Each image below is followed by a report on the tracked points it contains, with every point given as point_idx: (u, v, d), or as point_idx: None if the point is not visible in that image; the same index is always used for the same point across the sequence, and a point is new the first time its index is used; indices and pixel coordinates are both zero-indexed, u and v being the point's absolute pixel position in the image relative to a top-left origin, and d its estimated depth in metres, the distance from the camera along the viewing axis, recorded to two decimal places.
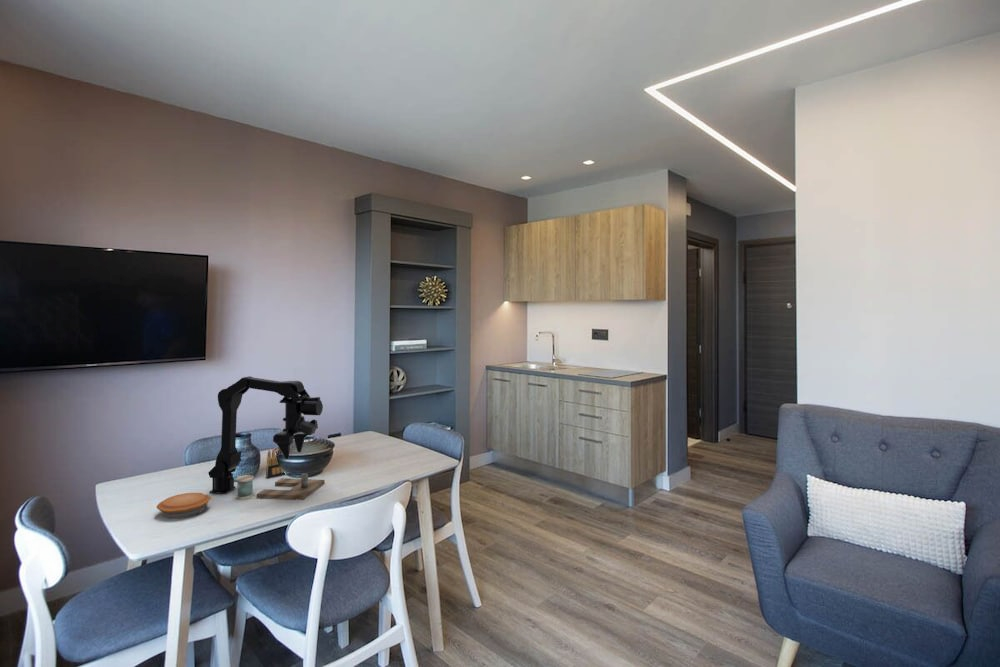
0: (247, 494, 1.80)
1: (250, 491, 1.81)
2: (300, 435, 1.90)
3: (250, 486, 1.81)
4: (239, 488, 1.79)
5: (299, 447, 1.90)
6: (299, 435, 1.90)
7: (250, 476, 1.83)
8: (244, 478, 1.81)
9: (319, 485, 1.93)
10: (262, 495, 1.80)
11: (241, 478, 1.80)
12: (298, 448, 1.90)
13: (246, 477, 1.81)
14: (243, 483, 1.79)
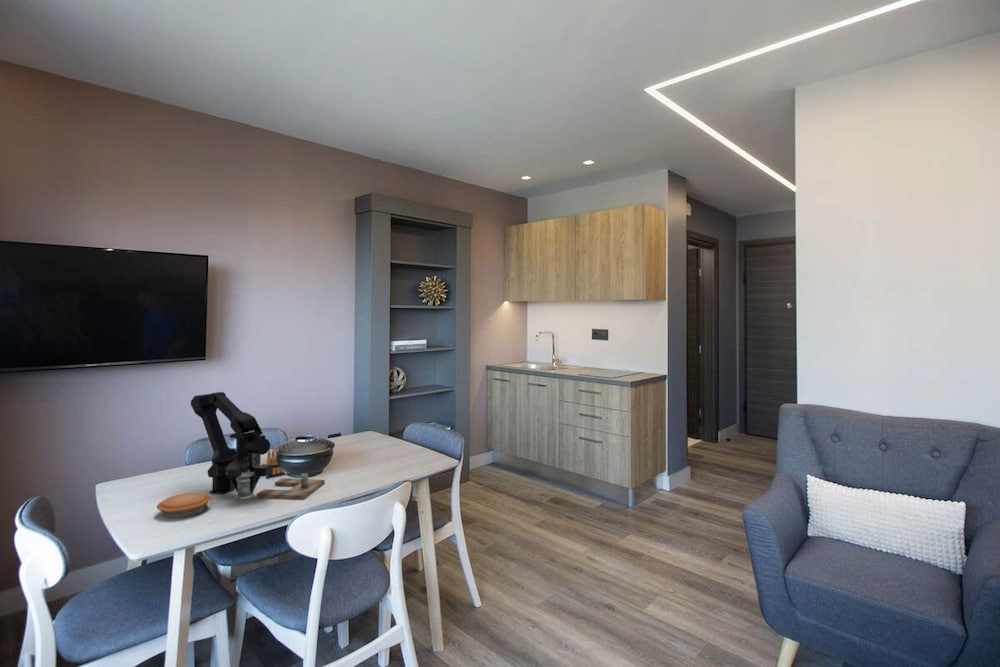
0: (247, 494, 1.80)
1: (250, 491, 1.81)
2: None
3: None
4: (239, 488, 1.79)
5: None
6: None
7: None
8: (244, 478, 1.80)
9: (319, 485, 1.93)
10: (262, 495, 1.80)
11: (241, 478, 1.80)
12: None
13: (246, 477, 1.81)
14: (243, 483, 1.79)
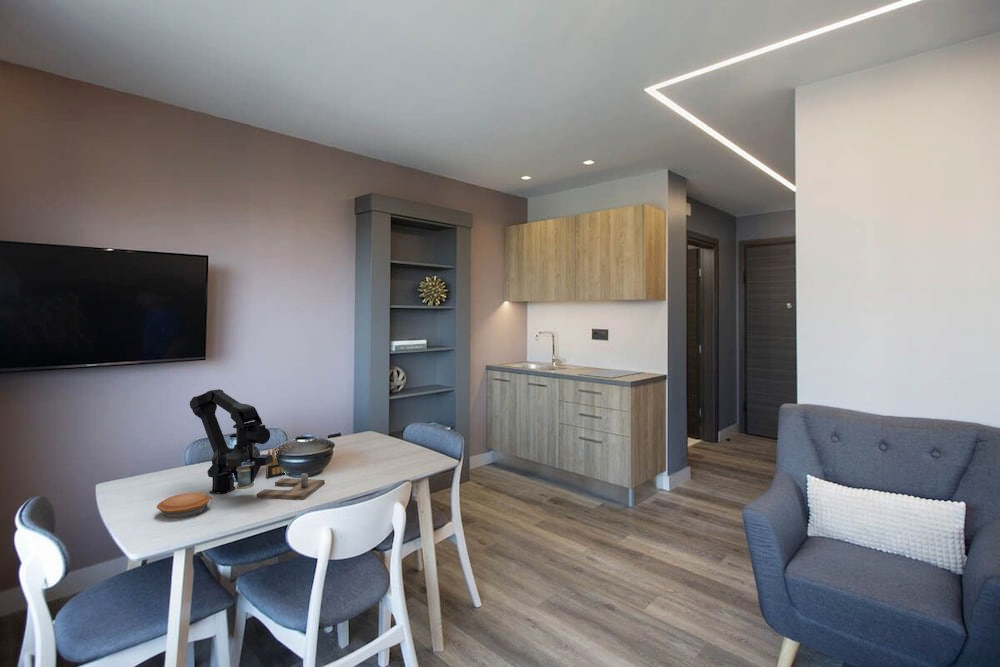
0: (247, 484, 1.80)
1: (250, 481, 1.81)
2: None
3: (250, 476, 1.81)
4: (239, 478, 1.79)
5: None
6: None
7: None
8: (244, 468, 1.80)
9: (319, 485, 1.93)
10: (262, 495, 1.80)
11: (241, 468, 1.80)
12: None
13: (246, 467, 1.81)
14: (243, 473, 1.79)
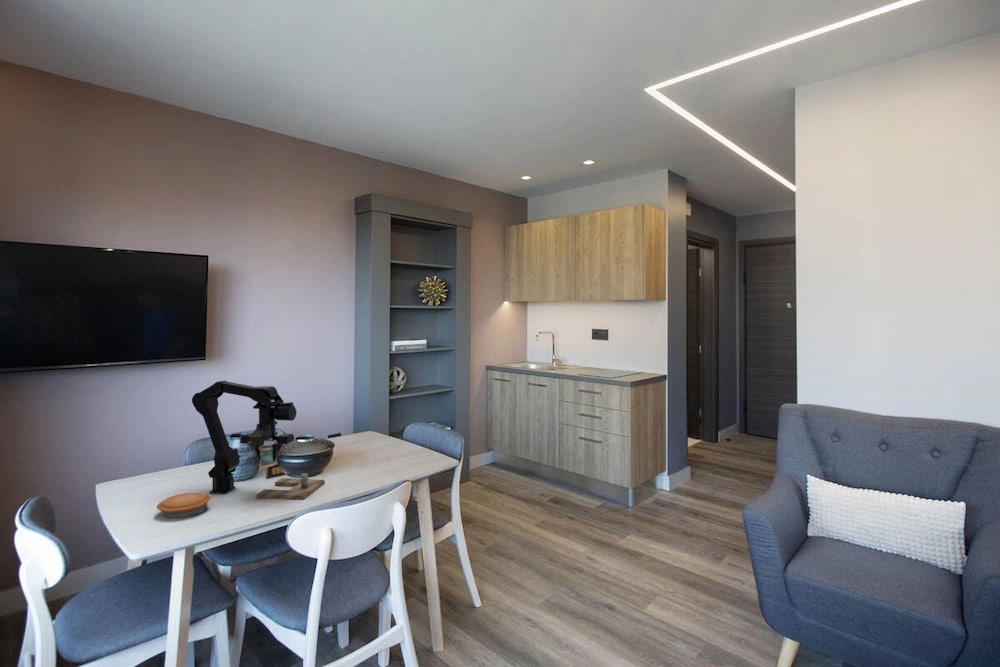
0: (270, 462, 1.84)
1: (272, 459, 1.85)
2: None
3: (272, 454, 1.85)
4: (262, 456, 1.83)
5: None
6: None
7: None
8: (266, 446, 1.84)
9: (319, 485, 1.93)
10: (262, 495, 1.80)
11: (264, 446, 1.84)
12: None
13: (268, 446, 1.85)
14: (266, 451, 1.83)
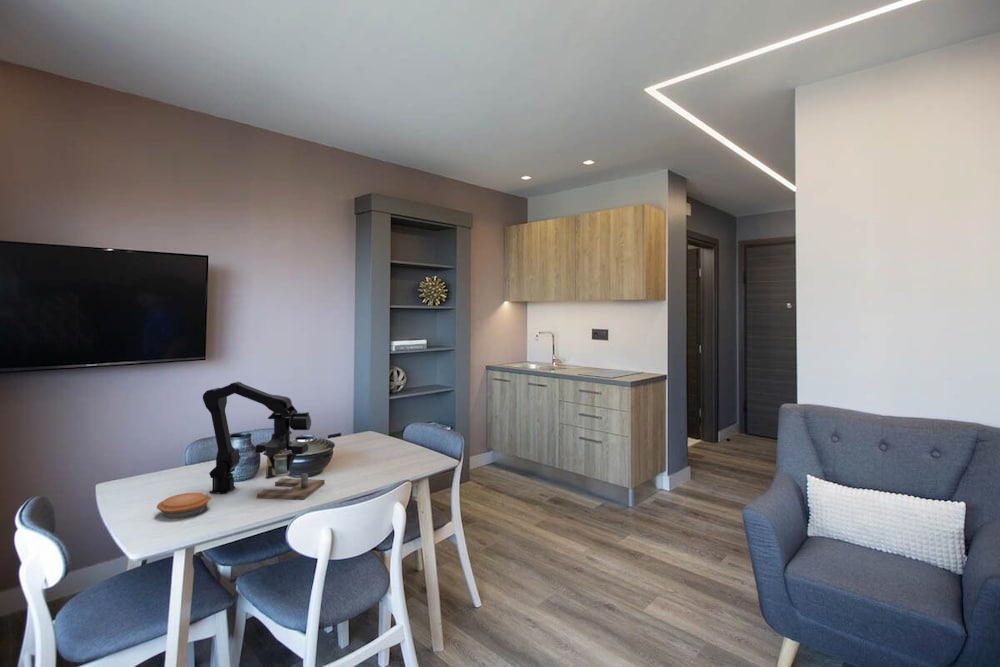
0: (284, 471, 1.87)
1: None
2: None
3: None
4: (276, 466, 1.86)
5: None
6: None
7: (286, 454, 1.90)
8: (281, 456, 1.88)
9: (319, 485, 1.93)
10: (262, 495, 1.80)
11: (278, 456, 1.88)
12: None
13: (283, 456, 1.88)
14: (280, 461, 1.86)
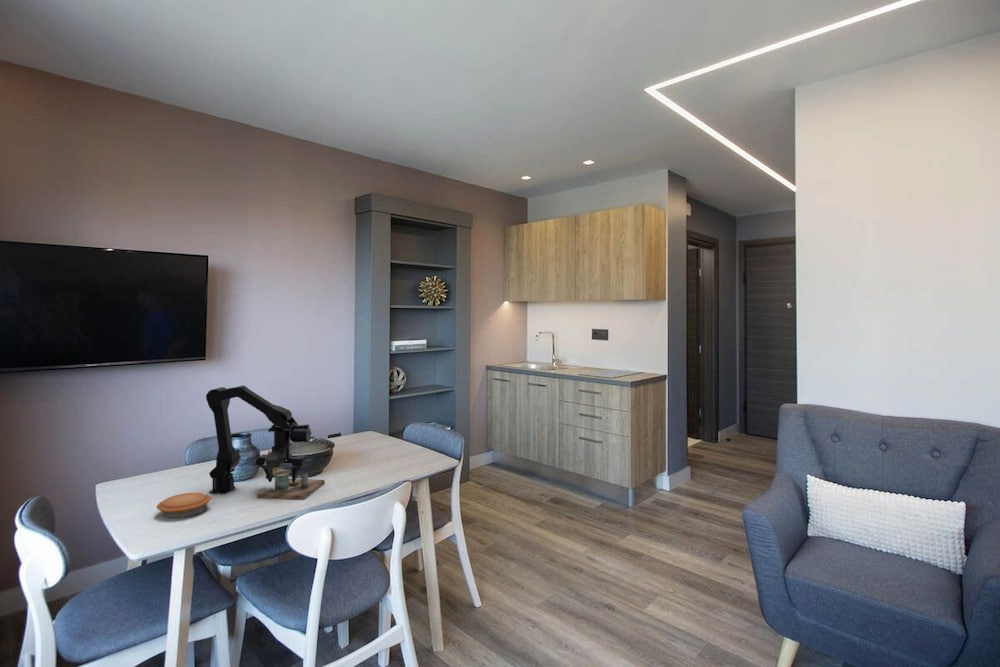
0: (284, 488, 1.87)
1: (287, 485, 1.88)
2: None
3: (287, 480, 1.88)
4: (276, 482, 1.87)
5: None
6: None
7: (286, 470, 1.90)
8: (281, 472, 1.88)
9: (319, 485, 1.93)
10: (262, 495, 1.80)
11: (278, 472, 1.88)
12: None
13: (283, 472, 1.88)
14: (280, 477, 1.87)
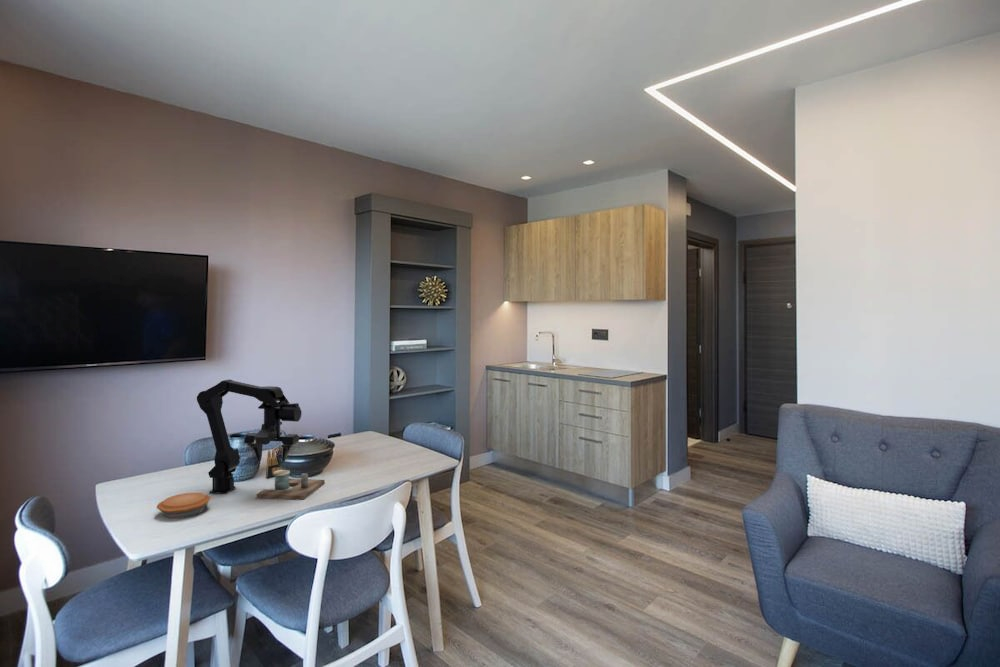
0: (284, 488, 1.87)
1: (287, 485, 1.88)
2: None
3: (287, 480, 1.88)
4: (276, 482, 1.87)
5: None
6: None
7: (286, 470, 1.90)
8: (281, 472, 1.88)
9: (319, 485, 1.93)
10: (262, 495, 1.80)
11: (278, 472, 1.88)
12: None
13: (283, 472, 1.88)
14: (280, 477, 1.87)
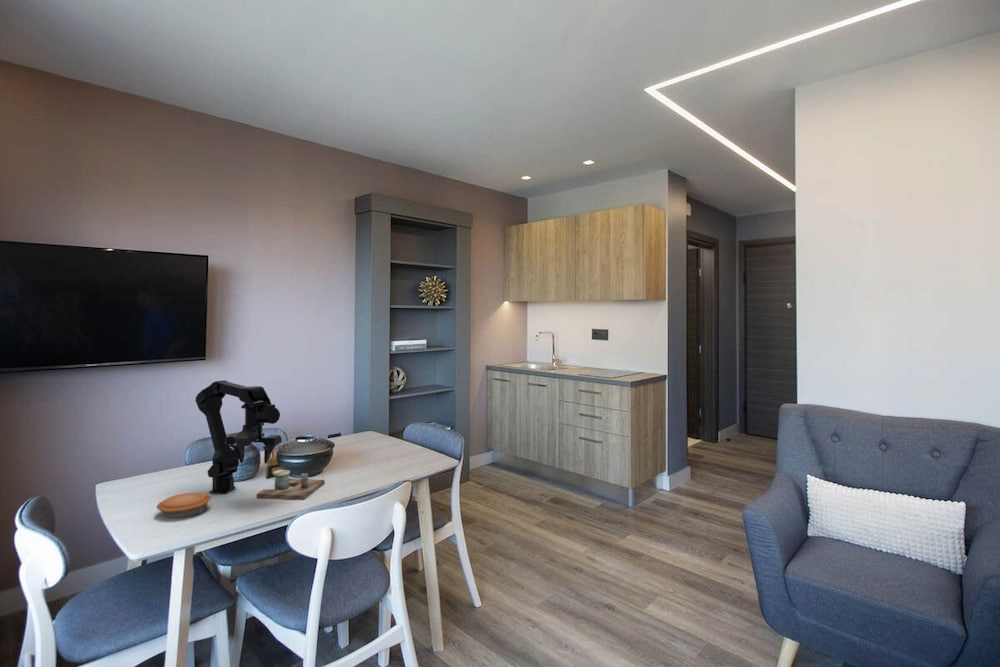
0: (284, 488, 1.87)
1: (287, 485, 1.88)
2: None
3: (287, 480, 1.88)
4: (276, 482, 1.87)
5: None
6: None
7: (286, 470, 1.90)
8: (281, 472, 1.88)
9: (319, 485, 1.93)
10: (262, 495, 1.80)
11: (278, 472, 1.88)
12: None
13: (283, 472, 1.88)
14: (280, 477, 1.87)
